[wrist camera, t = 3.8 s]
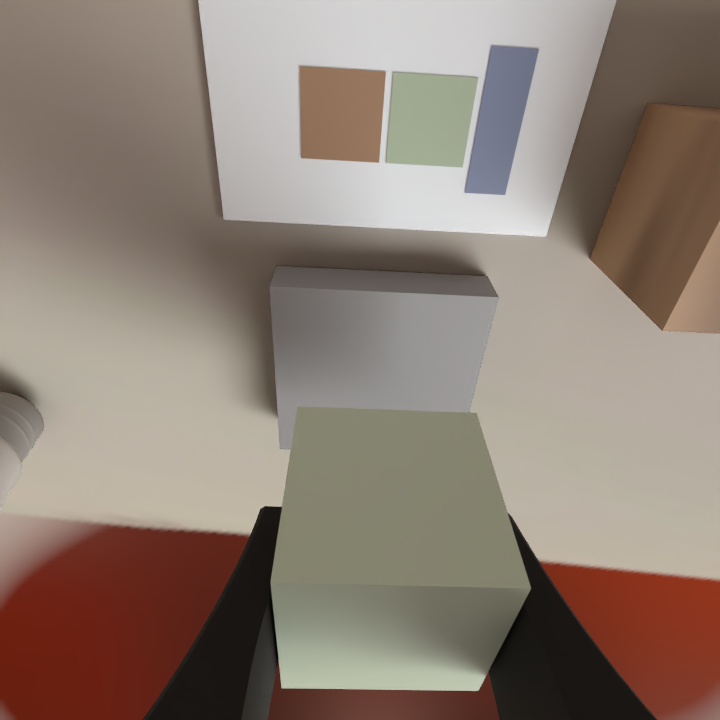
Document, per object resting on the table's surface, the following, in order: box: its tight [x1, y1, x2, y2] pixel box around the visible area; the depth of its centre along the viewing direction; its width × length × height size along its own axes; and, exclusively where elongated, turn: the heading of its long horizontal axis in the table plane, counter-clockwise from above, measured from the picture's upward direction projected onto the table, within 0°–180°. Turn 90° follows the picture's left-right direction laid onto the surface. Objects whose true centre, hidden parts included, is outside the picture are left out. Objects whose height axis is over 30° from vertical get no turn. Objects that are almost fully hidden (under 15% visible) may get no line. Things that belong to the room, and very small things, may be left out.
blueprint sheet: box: [198, 0, 617, 237], centre depth 13 cm, size 10×6×1 cm, turn 87°
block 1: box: [270, 406, 531, 691], centre depth 11 cm, size 4×4×4 cm
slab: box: [269, 266, 499, 449], centre depth 17 cm, size 7×7×2 cm
